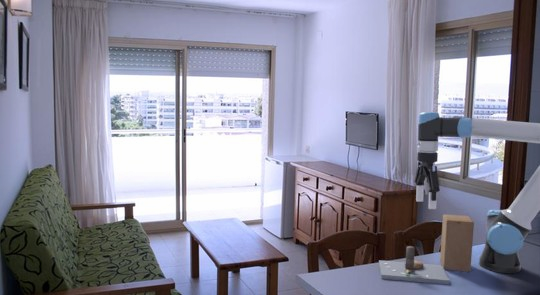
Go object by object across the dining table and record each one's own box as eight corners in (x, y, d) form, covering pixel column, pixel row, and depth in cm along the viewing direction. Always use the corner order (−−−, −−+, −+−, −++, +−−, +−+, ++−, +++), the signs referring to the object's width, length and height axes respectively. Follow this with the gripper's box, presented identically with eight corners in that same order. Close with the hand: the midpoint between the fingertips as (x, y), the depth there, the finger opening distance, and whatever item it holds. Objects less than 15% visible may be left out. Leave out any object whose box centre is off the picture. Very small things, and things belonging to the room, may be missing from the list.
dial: (407, 261, 190) (408, 238, 189) (425, 264, 186) (426, 241, 185) (396, 272, 177) (398, 248, 176) (415, 276, 173) (417, 252, 172)
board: (441, 268, 187) (441, 264, 187) (449, 284, 172) (449, 279, 172) (378, 263, 191) (379, 259, 191) (381, 278, 176) (381, 274, 175)
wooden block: (470, 272, 184) (474, 221, 182) (443, 269, 186) (446, 220, 184) (465, 263, 194) (468, 215, 192) (439, 261, 196) (442, 213, 194)
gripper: (407, 148, 198) (406, 198, 200) (430, 155, 173) (428, 212, 175) (425, 148, 198) (423, 198, 200) (450, 155, 174) (448, 212, 176)
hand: (425, 205), depth 188 cm, fingers open, 13 cm apart
